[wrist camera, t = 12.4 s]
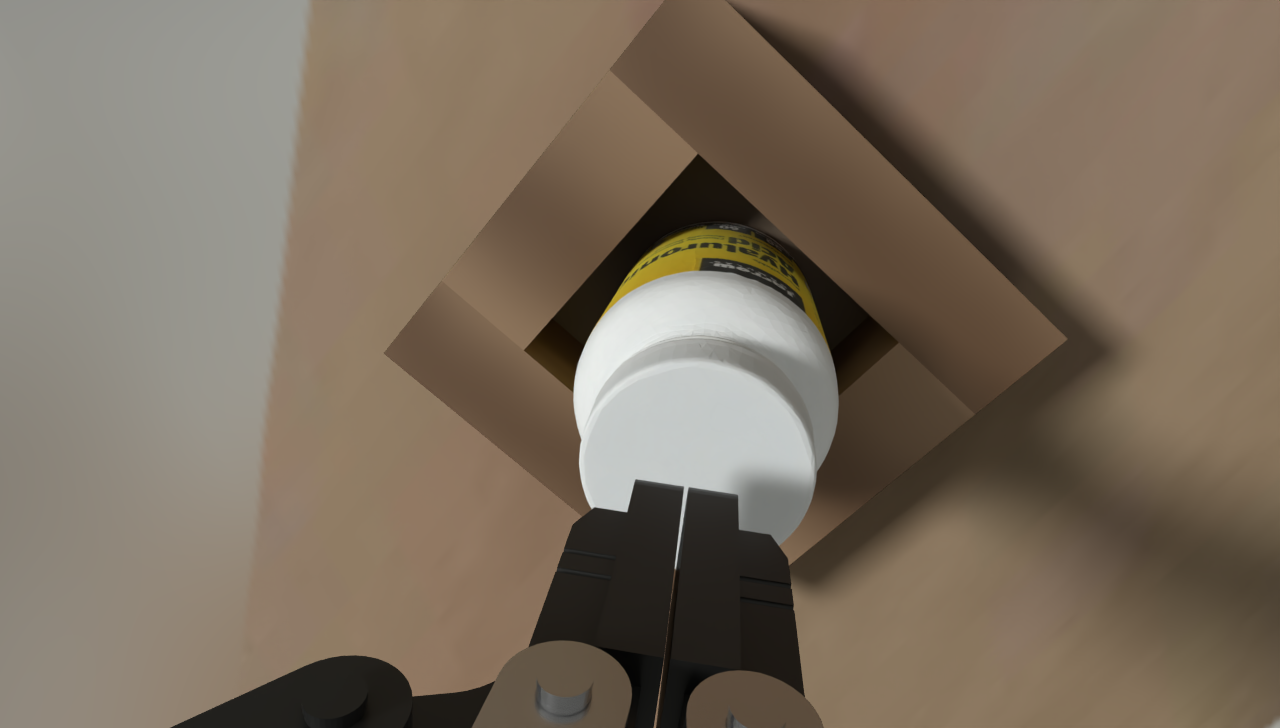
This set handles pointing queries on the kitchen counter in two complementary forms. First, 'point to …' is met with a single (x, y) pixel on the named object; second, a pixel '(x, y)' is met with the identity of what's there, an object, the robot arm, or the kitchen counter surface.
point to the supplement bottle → (709, 379)
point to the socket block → (737, 193)
